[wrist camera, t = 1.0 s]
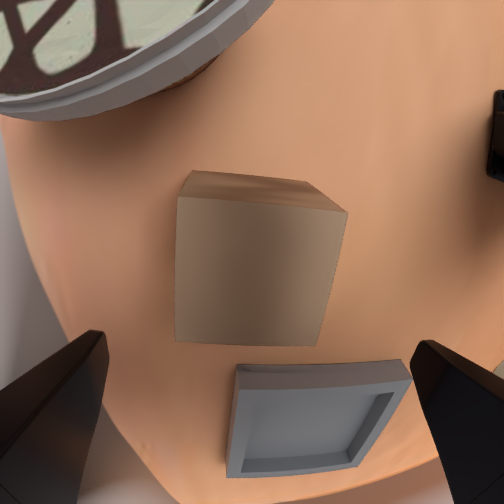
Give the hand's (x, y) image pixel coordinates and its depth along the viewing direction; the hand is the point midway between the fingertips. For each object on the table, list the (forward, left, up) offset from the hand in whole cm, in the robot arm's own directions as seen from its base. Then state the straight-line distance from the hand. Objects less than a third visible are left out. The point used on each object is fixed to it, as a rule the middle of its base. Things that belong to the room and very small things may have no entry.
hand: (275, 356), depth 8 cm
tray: (-7, +16, -10) cm, 20 cm away
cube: (0, 0, -10) cm, 10 cm away
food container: (+5, -9, -10) cm, 15 cm away
